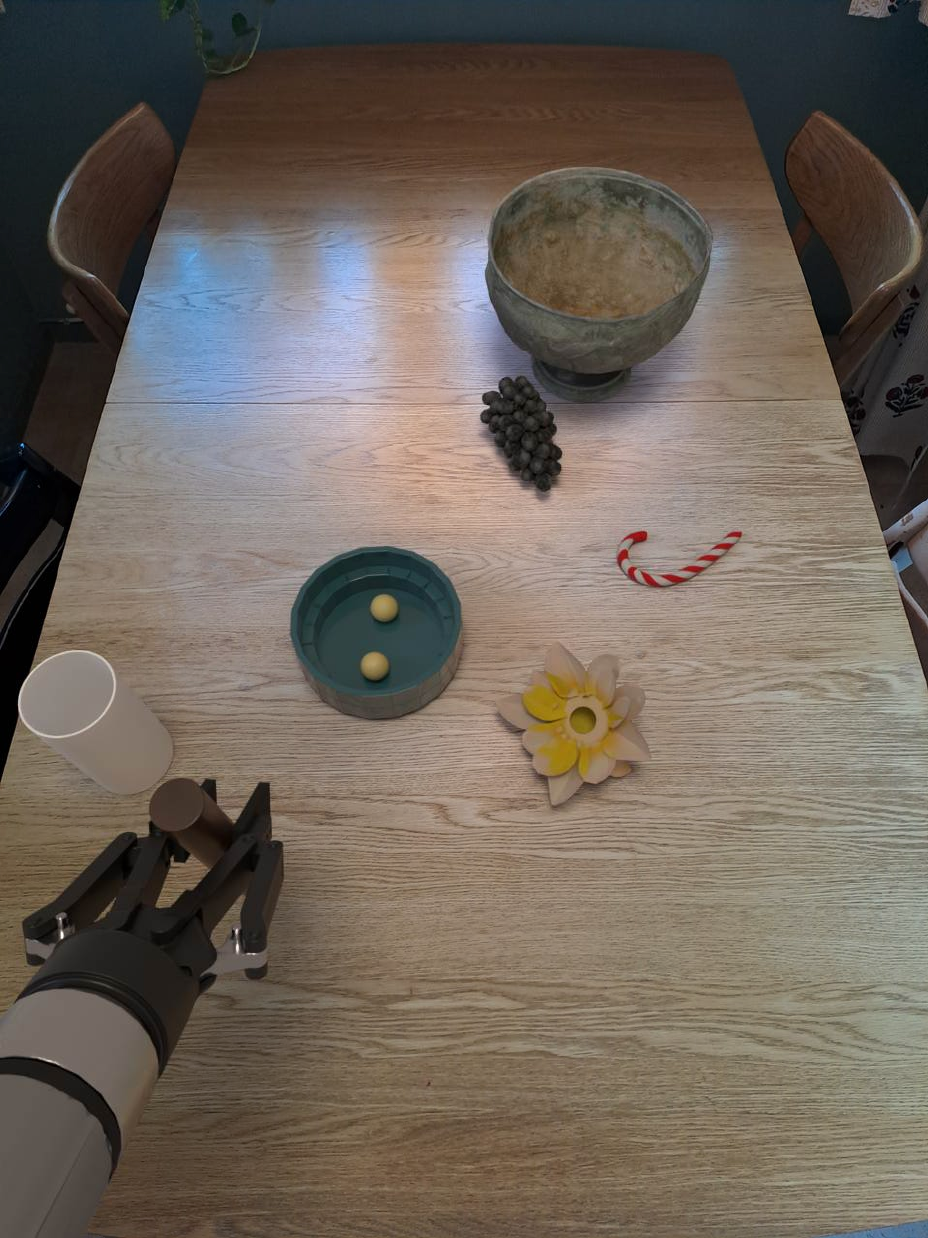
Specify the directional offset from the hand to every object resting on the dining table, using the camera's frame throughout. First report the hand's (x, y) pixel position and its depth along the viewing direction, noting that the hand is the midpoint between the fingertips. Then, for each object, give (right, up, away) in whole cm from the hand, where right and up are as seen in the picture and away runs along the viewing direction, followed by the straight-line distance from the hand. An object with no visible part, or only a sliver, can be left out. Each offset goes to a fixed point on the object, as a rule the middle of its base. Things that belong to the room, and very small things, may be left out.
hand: (238, 797), depth 61 cm
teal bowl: (+7, +10, +31) cm, 33 cm away
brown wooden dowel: (0, -7, +5) cm, 9 cm away
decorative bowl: (+31, +46, +51) cm, 76 cm away
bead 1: (+8, +14, +30) cm, 34 cm away
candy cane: (+41, +21, +37) cm, 59 cm away
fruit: (+23, +33, +43) cm, 59 cm away
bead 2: (+7, +8, +27) cm, 29 cm away
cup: (-17, -1, +25) cm, 30 cm away
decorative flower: (+27, +1, +26) cm, 38 cm away
